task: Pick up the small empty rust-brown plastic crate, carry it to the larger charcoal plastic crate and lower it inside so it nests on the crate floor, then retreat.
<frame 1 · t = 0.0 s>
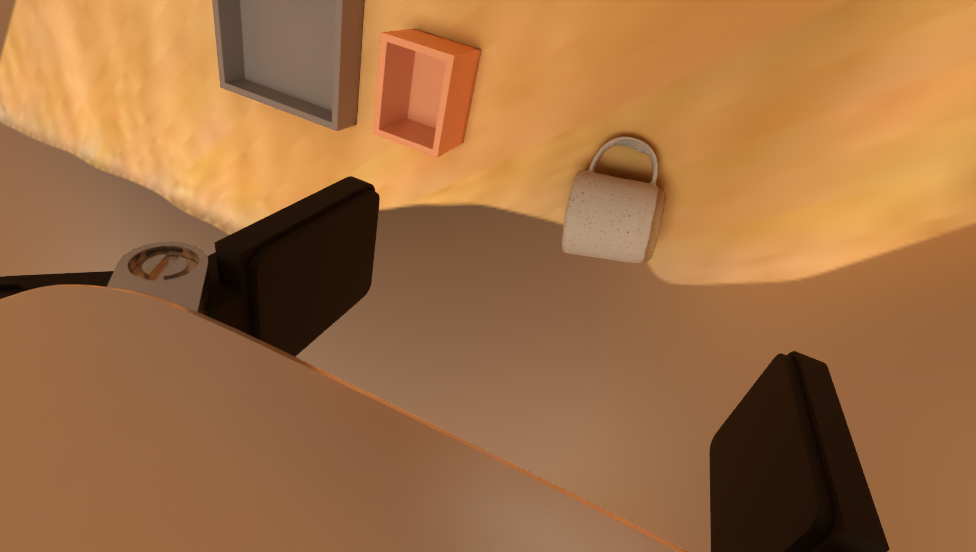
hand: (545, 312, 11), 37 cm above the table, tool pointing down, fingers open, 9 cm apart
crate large: (298, 40, 51), on the table
ceramic mug: (618, 190, 46), on the table
crate small: (440, 87, 48), on the table
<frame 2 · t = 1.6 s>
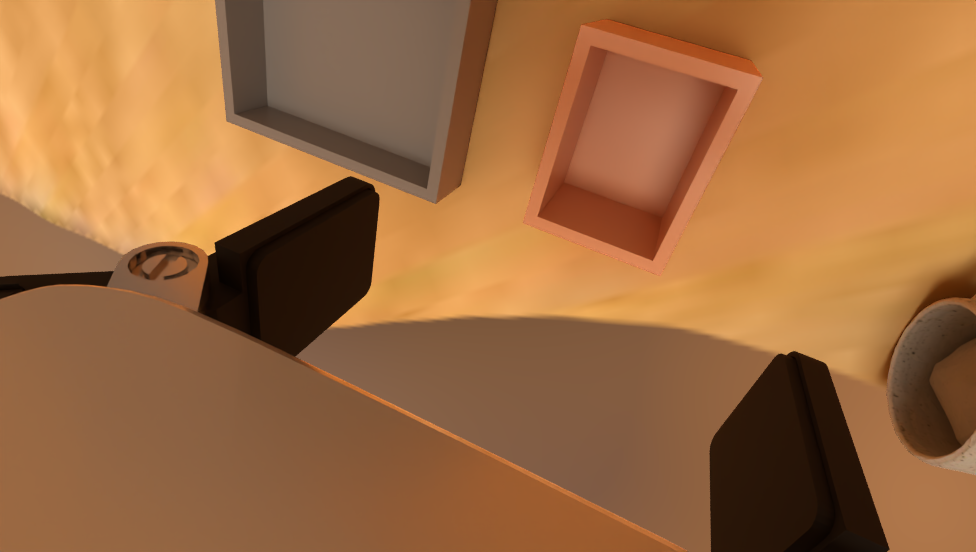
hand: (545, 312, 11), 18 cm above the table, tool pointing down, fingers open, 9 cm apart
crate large: (365, 40, 29), on the table
crate small: (640, 130, 25), on the table
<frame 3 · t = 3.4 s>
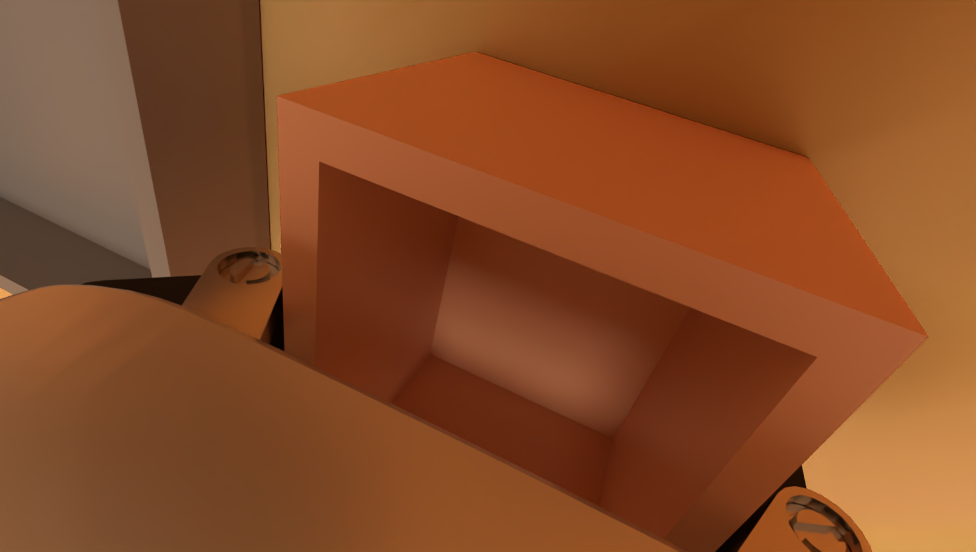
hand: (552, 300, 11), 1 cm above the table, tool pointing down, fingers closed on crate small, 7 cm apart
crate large: (71, 80, 16), on the table
crate small: (563, 277, 12), on the table, touching gripper
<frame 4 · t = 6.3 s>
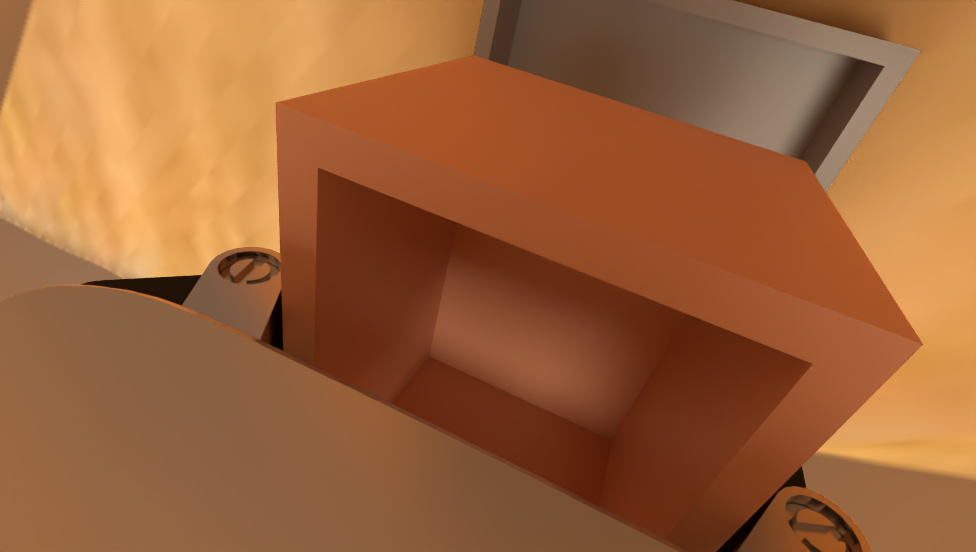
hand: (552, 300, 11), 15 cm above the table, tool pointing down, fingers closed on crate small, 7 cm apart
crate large: (631, 143, 24), on the table
crate small: (562, 280, 12), point 14 cm above the table, touching gripper
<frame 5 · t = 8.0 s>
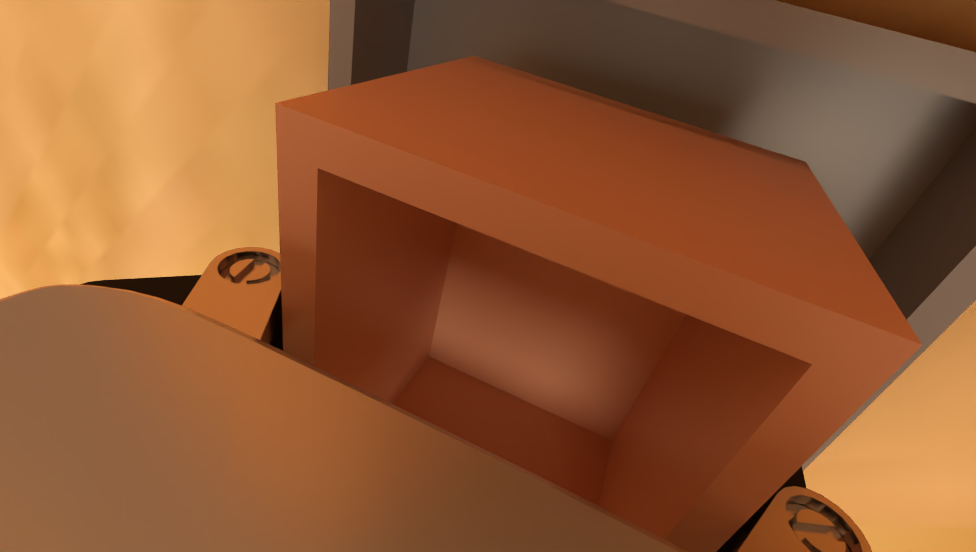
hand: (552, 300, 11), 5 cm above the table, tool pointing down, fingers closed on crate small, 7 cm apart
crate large: (595, 219, 15), on the table
crate small: (562, 280, 12), point 4 cm above the table, touching gripper
when the fingers open (4 cm above the table, at t = 9.2 s): crate small drops 2 cm, resting on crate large.
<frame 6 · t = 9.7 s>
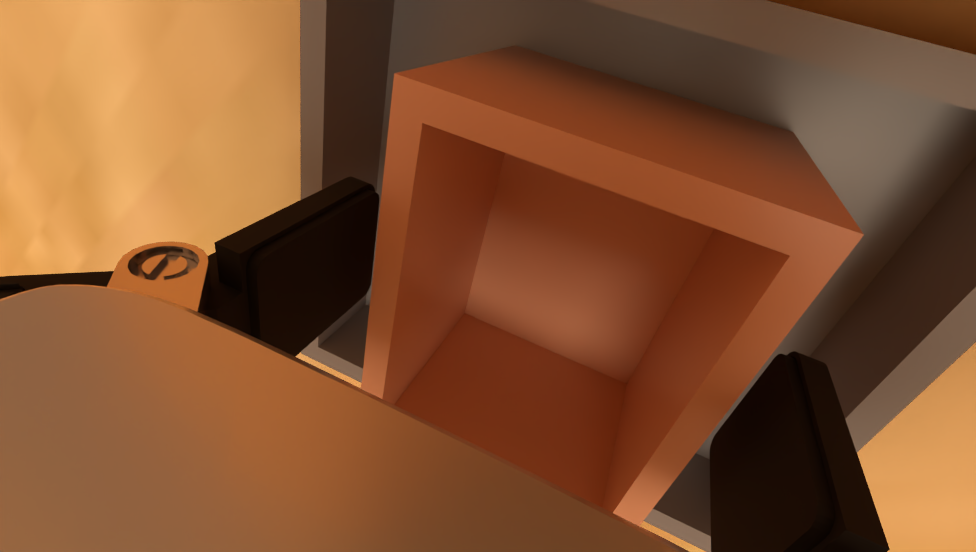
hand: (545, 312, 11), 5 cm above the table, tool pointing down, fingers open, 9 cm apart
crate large: (586, 232, 15), on the table
crate small: (585, 241, 14), point 1 cm above the table, touching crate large
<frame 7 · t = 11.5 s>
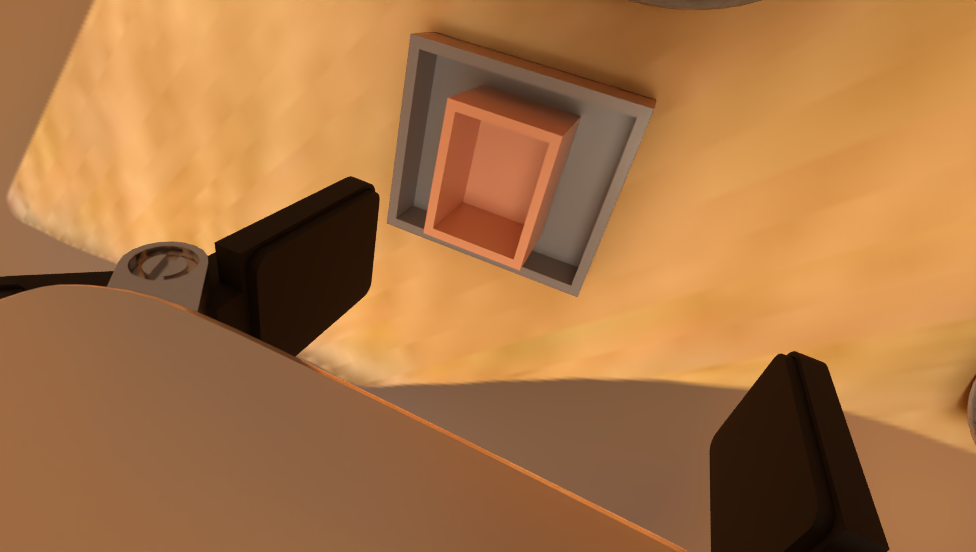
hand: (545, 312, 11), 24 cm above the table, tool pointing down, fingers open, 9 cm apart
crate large: (514, 161, 35), on the table
crate small: (513, 164, 34), point 1 cm above the table, touching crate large
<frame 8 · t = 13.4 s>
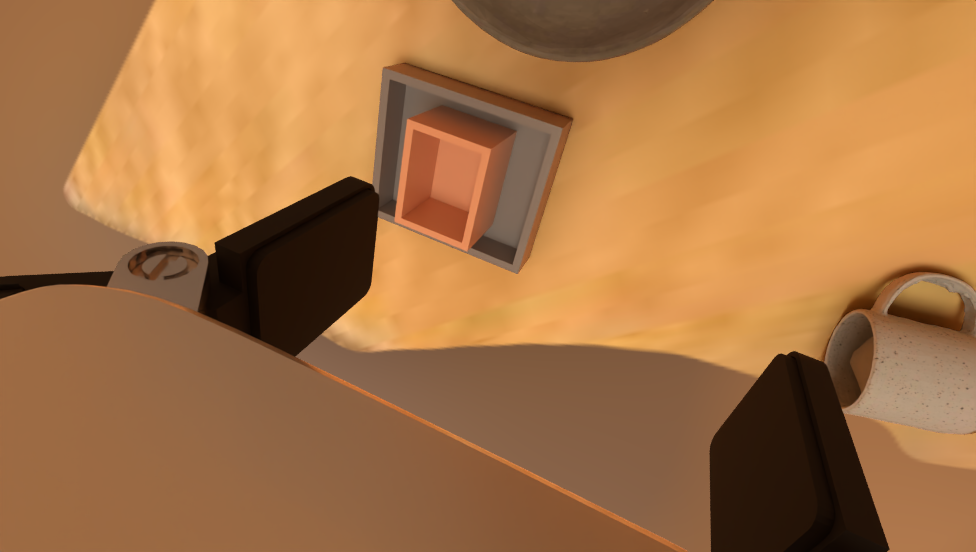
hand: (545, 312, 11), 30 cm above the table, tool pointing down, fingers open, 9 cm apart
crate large: (470, 165, 43), on the table
ceramic mug: (894, 326, 37), on the table
crate small: (468, 167, 43), point 1 cm above the table, touching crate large
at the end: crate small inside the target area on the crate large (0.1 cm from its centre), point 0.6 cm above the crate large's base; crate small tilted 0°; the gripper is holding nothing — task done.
